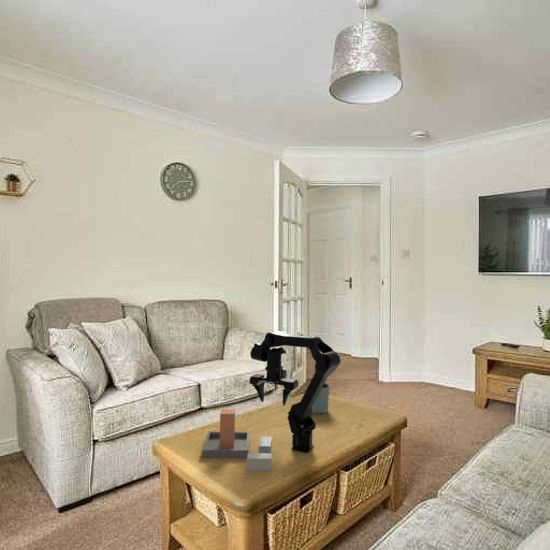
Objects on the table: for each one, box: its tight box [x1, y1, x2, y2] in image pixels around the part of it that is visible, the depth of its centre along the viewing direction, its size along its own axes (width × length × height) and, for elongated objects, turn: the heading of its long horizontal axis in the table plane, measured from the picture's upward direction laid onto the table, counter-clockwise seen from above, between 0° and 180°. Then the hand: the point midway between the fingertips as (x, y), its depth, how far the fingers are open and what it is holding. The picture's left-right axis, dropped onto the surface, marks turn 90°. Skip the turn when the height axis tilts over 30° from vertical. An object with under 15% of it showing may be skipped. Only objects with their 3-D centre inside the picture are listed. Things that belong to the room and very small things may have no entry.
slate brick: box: [258, 436, 273, 453], centre depth 145 cm, size 8×4×4 cm, turn 176°
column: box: [219, 408, 236, 448], centre depth 147 cm, size 5×5×12 cm
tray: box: [201, 430, 251, 459], centre depth 148 cm, size 16×16×3 cm
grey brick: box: [246, 452, 273, 472], centre depth 133 cm, size 8×4×4 cm, turn 91°
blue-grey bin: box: [307, 382, 330, 414], centre depth 188 cm, size 10×10×12 cm
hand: (273, 403), depth 157 cm, fingers open, 9 cm apart
